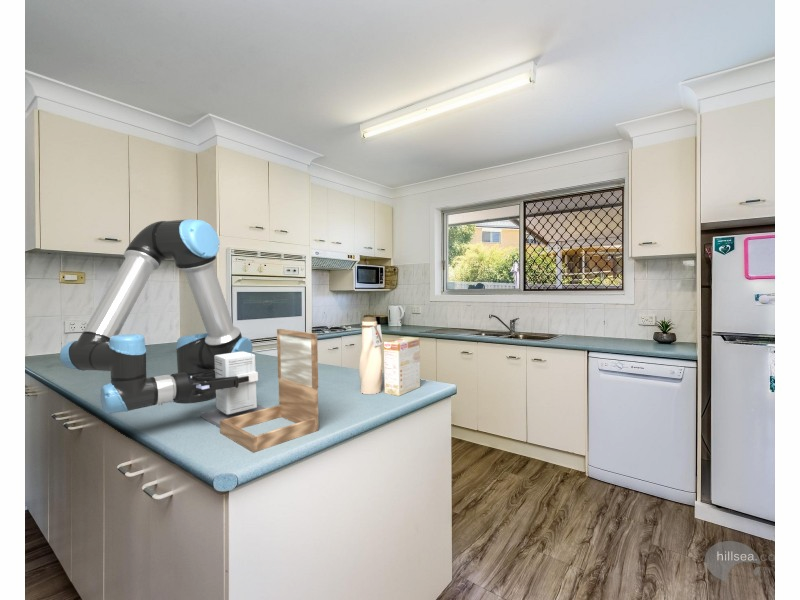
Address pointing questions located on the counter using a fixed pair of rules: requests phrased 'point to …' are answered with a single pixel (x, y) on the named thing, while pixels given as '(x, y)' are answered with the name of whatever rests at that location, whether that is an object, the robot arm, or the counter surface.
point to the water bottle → (371, 357)
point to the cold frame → (285, 395)
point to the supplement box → (246, 392)
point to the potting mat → (224, 415)
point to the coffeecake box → (401, 365)
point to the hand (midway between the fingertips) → (249, 373)
